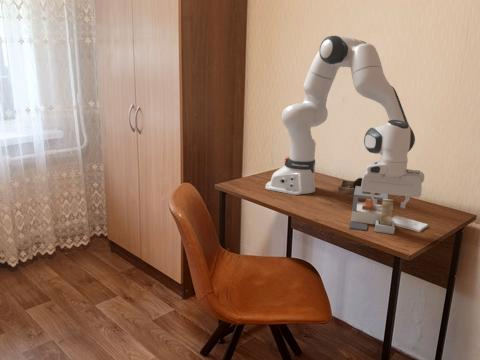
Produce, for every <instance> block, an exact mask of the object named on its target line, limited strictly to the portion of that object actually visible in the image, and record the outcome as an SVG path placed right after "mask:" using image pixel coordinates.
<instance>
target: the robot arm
mask: <svg viewBox="0 0 480 360" xmlns="http://www.w3.org/2000/svg"><path fill="white" fill-rule="evenodd" d="M341 67H342V68H350V70H351V71H350V72H351V77H352V82H353V83H352V84H353V86H354V88H355V89H354V90H355V91H356V92H357V93H358V94H359V95H360V96H362V97H364V98H365V99H368V100H369V99H370V100H372V101H374V102H376V103H378V104H379V105H381V106H382V107H383V108H384V109H385V112H386V114H387V117H388V119H389V120H387V121H386V122H385V123H384V124H382V125H379V126H373V127H370V128H369V129H368V130H367V131H365V132H366V133H365V134H364V138H363V144H364V147H365V148H366V150H367V151H368V152H369V153H370V154H375V155H377V154H378V155H381V156H380V160H378V161H373V162H370V163H367V165H366V170H365V172H364V173H363V176H362V178H363V179H362V183H361V190H362V191H363V192H371V194H370V196H371V198H372V200H373V205H378V200H377V199H375V198H374V195H376V194H380V193H381V194H388V195H391V196H400V197H403V196H404V200H403V201H400V209H406V204H407V203H408V202H409V200H410V199H411V198H420V197H421V196H422V192H423V191H422V183H424V182H425V173H423V172H422V171H421V170H417V169H416V170H415V169H409V168H408V160H409V159H408V153H409V152H410V151H411V150H412V148H413V147H414V145H415V144H416V143H415V142H416V137H415V133H414V131H413V129H412V128H411V126H410V123H409V121H408V119H407V117H406V115H405V114H406V113H405V112H404V108H403V106H402V103H401V101H400V100H401V99H400V97H399V95H398V93H397V91H396V89H395V88H394V86H393V85H391V84H390V82H389V81H388V79H387V77H386V76H385V72H384V69H383V65H382V61H381V58H380V56H379V53H378V51H377V48H376V47H375V46H374V45H373V44H371V43H367V42H365V41H363V40H359V39H357V38H352V37H346V36H340V35H339V36H338V35H329V36H326V37H325V38H324V39H323V40H322V41H321V43H320V46H319V50H318V51H317V53H316V55H315V56H314V58H313V60H312V62H311V65H310V67H309V69H308V71H307V74H306V77H305V80H304V83H303V86H302V88H303V90H304V99H303V101H302V102H298V103H293V104H291V105H289V106H287V107H285V108H284V109H283V111H282V113H281V121H282V123H283V125H284V127H285V128H286V129H287V132H288V137H289V156H286V157H285V159H284V165H283V166H282V167H280V168H279V169H277V170H276V171H274V172H273V174H272V175H271V179H270V181H268V182H267V183H266V184H265V189H266V190H268V191H273V192H280V193H283V194H289V195H295V196H297V195H298V196H299V195H305V194H311V193H315V192H316V184H315V174H314V173H315V169H316V159H315V156H316V146H317V145H316V141H315V140H314V138H313V137H312V131H311V128H315V127H318V126H321V125H322V124H324V123H325V122H326V120H327V119H328V117H329V116H328V115H329V113H328V109H327V101H328V96H329V94H330V93H329V92H330V91H331V88H332V85H333V83H334V81H335V79H336V75H337V73H338V70H339V69H340V68H341Z"/></svg>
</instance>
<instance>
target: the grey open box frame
mask: <svg viewBox="0 0 480 360" xmlns="http://www.w3.org/2000/svg"><path fill="white" fill-rule="evenodd" d="M365 198H366V199H372V198H371V196H370V194H364V193H362V190H361V186H356V187H355V192H354V195H353V199H352V206H351V207H352V209H351V218H350V222H356V223H363V224H367V225H375V222H376V219H380V218H381V210H382V204H377V205H375V206H374V210H368V209H365V208H364V206H365V202H360V201H359V199H365ZM374 198H375V199H377V201H381V203H382V202H383V199H389V194H381V193H379V194H375V195H374Z"/></svg>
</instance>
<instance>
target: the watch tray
mask: <svg viewBox="0 0 480 360" xmlns="http://www.w3.org/2000/svg"><path fill="white" fill-rule="evenodd" d="M354 182H355V180H351V179H350V180H346V179H340V182H339V185H338V188H337V193H338V194H345V195H353V196H354V192H355V189H353V188H348V187H350V186H353V185H354ZM344 186H345V187H344ZM362 193H364V194H371V192H363V191H362Z"/></svg>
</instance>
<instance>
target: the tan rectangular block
mask: <svg viewBox="0 0 480 360" xmlns="http://www.w3.org/2000/svg"><path fill="white" fill-rule="evenodd" d="M381 205H382V210H381V218H380V225H387V226H390V224H391V218H392V217H393V216H392V215H393V208H394V207H393V206H394V199H391V198H388V199H383V202H382V201H381Z"/></svg>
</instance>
